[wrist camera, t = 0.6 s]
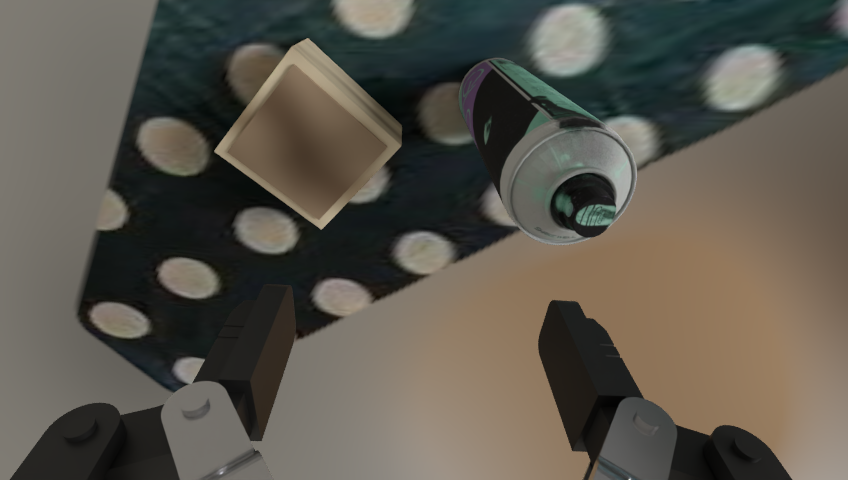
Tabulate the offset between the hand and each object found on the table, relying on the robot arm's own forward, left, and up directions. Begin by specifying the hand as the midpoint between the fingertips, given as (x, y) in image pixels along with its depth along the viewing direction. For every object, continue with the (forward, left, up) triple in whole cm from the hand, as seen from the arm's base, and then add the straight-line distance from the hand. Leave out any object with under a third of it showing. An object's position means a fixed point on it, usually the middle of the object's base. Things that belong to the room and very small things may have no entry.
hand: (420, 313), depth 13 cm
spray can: (-6, +3, -23) cm, 24 cm away
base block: (+5, -5, -23) cm, 24 cm away
